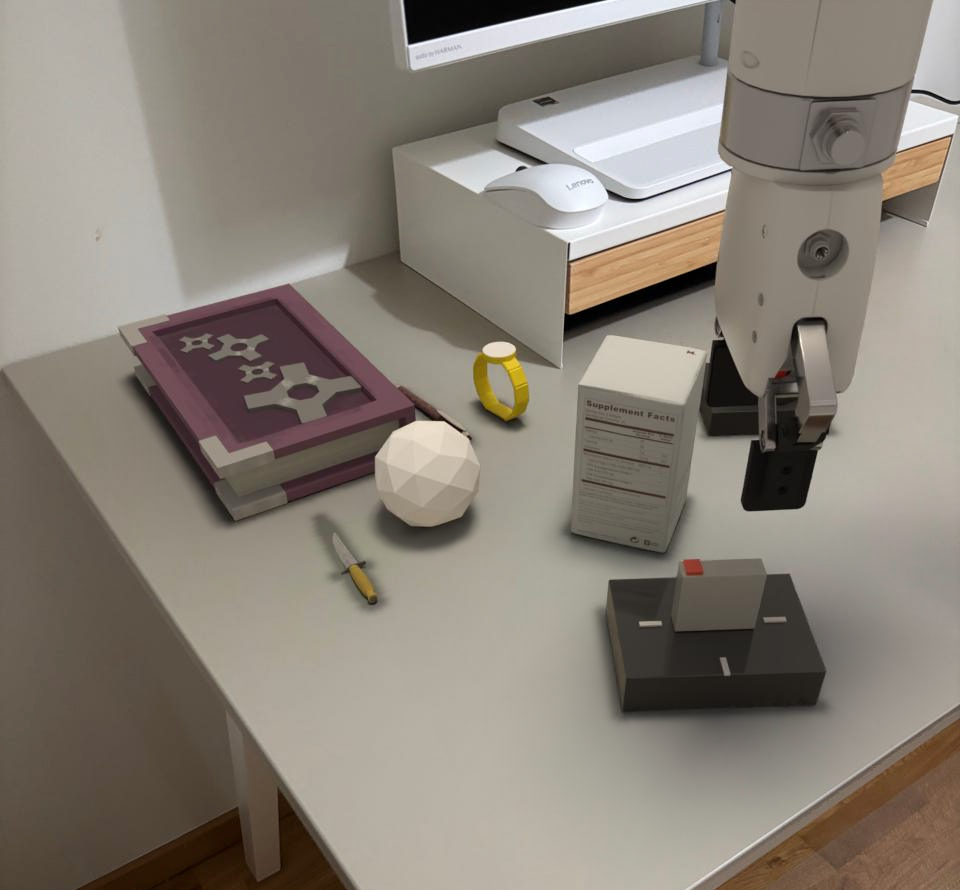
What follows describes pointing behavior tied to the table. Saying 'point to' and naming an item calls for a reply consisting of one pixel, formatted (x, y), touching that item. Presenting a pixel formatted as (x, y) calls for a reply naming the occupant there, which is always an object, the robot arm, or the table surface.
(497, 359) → the watch
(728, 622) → the box with red button
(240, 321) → the book
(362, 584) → the dagger
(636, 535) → the white packaging box
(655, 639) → the panel
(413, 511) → the ball
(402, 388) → the pen
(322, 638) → the table surface
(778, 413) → the black button base
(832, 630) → the table surface
